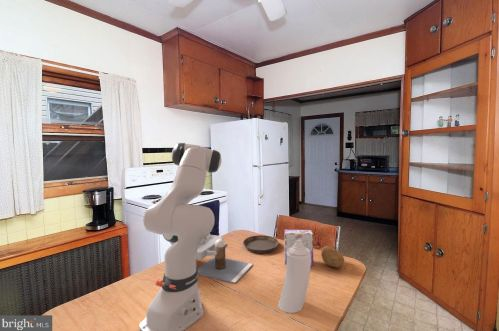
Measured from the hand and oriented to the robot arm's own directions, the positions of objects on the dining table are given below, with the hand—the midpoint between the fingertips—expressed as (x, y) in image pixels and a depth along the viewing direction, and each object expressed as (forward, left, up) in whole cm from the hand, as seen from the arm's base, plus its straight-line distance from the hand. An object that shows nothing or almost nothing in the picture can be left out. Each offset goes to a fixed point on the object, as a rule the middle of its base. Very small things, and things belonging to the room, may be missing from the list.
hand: (221, 249), depth 119 cm
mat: (0, -1, -10) cm, 10 cm away
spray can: (-12, -39, -10) cm, 42 cm away
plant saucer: (+31, -7, -10) cm, 33 cm away
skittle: (0, +1, -9) cm, 9 cm away
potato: (+25, -48, -10) cm, 55 cm away
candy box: (+21, -32, -10) cm, 40 cm away
